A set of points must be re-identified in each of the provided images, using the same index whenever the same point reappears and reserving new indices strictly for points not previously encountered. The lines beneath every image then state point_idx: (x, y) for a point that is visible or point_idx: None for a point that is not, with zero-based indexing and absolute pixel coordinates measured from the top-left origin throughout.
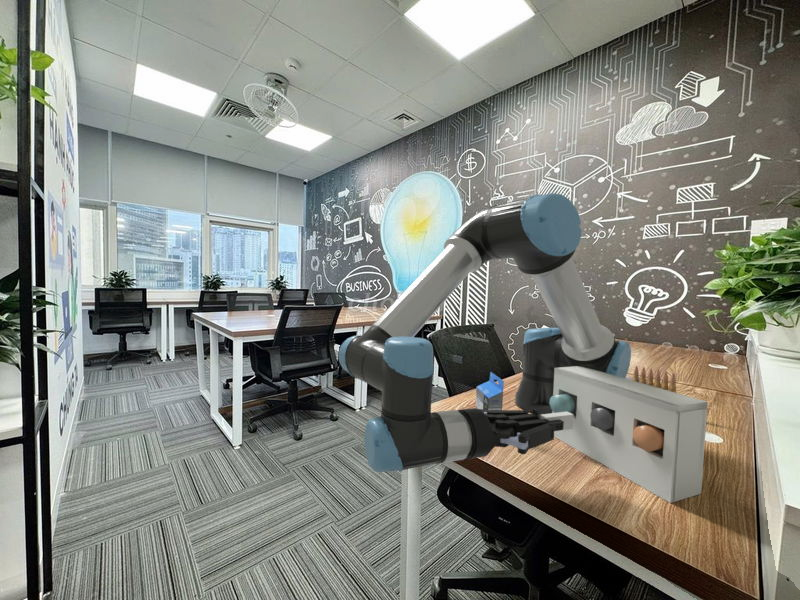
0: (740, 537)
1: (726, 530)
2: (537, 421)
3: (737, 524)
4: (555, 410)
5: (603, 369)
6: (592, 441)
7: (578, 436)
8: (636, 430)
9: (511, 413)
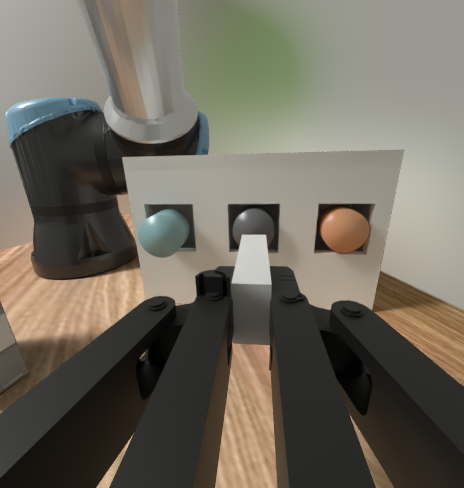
0: (443, 307)
1: (430, 308)
2: (301, 337)
3: (411, 292)
4: (158, 251)
5: None
6: None
7: None
8: (330, 223)
9: (96, 389)
